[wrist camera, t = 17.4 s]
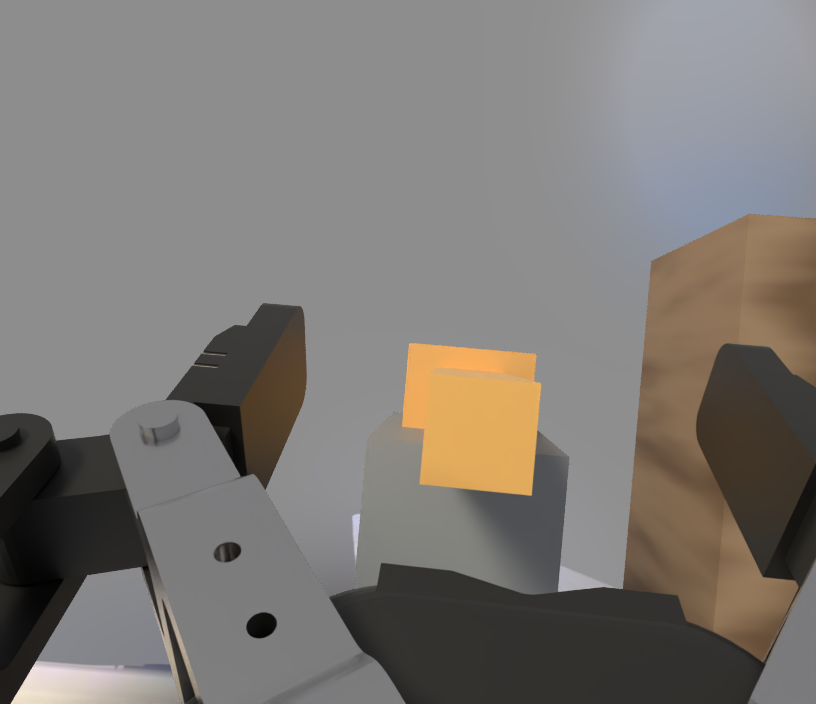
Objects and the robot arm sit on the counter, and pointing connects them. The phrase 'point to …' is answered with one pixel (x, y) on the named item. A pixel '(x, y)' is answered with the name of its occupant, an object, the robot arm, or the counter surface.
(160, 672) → the counter surface
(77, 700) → the counter surface
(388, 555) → the block
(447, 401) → the orange block
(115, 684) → the counter surface
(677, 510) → the tall wooden block
